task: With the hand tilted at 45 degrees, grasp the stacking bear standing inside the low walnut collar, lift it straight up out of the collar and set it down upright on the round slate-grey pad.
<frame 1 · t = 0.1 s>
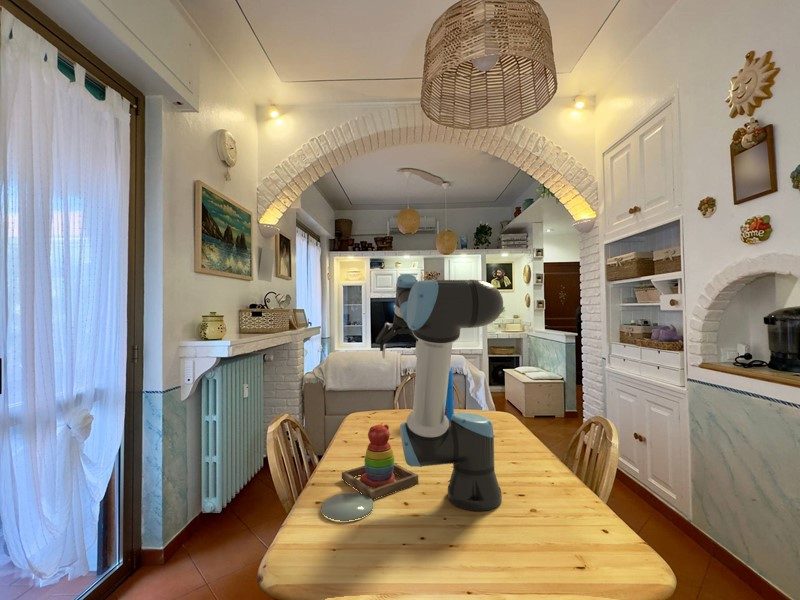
hand: (399, 355, 155), 36 cm above the table, tool tilted 35°, fingers open, 13 cm apart
stacking bear: (379, 482, 121), resting in collar
thermos: (442, 422, 184), on the table
collar: (379, 481, 121), on the table
pad: (347, 508, 105), on the table
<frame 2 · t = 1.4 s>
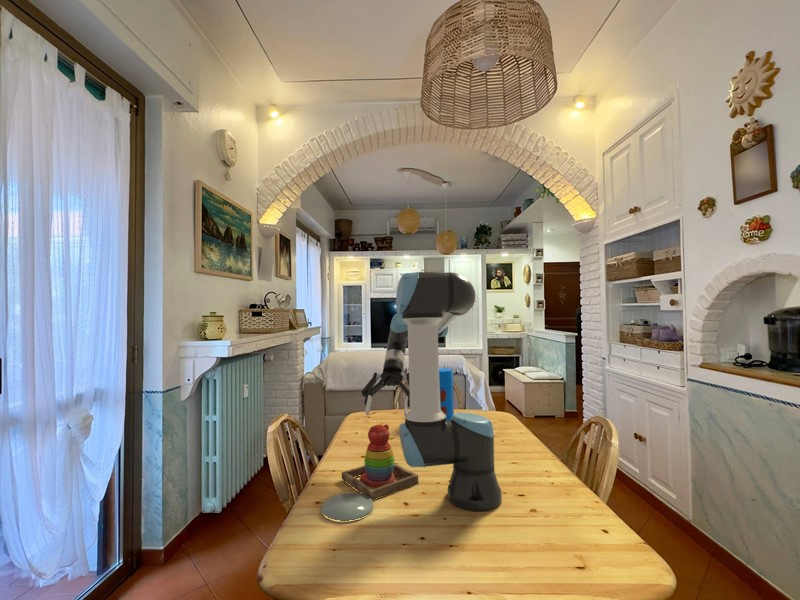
hand: (386, 414, 132), 18 cm above the table, tool tilted 45°, fingers open, 13 cm apart
nothing on the table moved.
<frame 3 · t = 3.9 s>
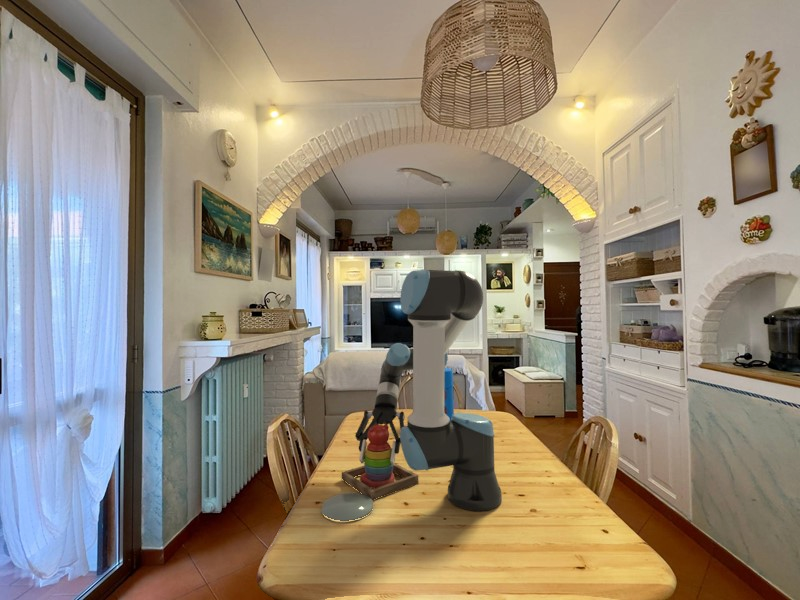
hand: (376, 462, 118), 7 cm above the table, tool tilted 45°, fingers closed on stacking bear, 9 cm apart
stacking bear: (379, 482, 121), resting in collar, touching gripper
everything else where it was.
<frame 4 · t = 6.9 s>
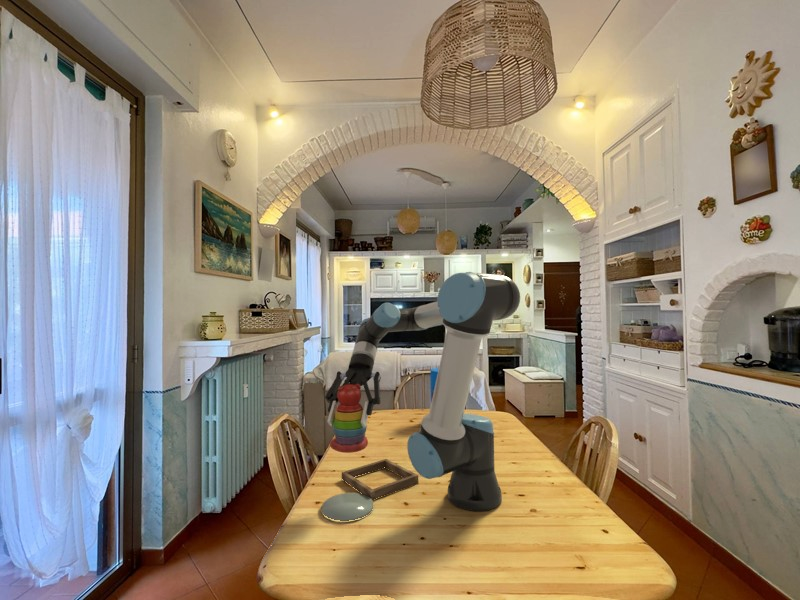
hand: (346, 424, 106), 23 cm above the table, tool tilted 45°, fingers closed on stacking bear, 9 cm apart
stacking bear: (350, 447, 109), point 15 cm above the table, touching gripper
everything else where it was.
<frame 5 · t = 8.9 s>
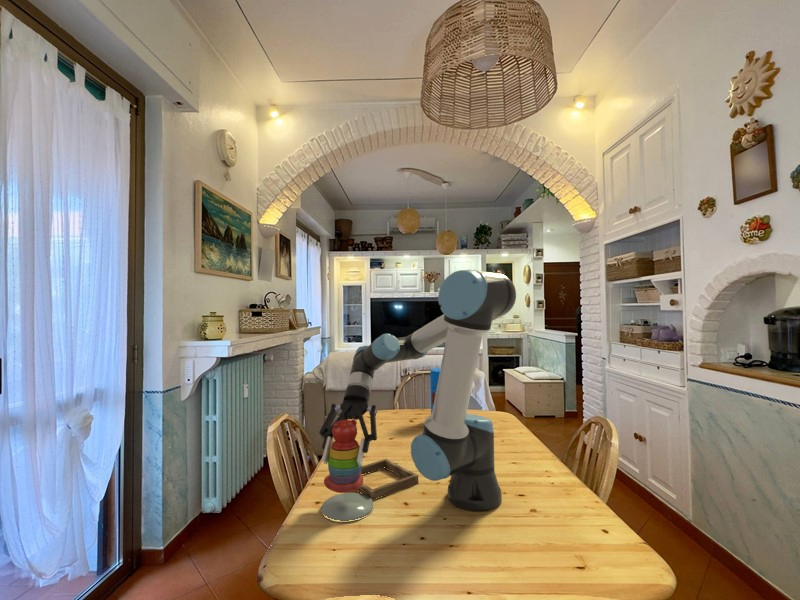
hand: (341, 462, 102), 13 cm above the table, tool tilted 45°, fingers closed on stacking bear, 9 cm apart
stacking bear: (345, 485, 105), point 6 cm above the table, touching gripper
everything else where it was.
when the fingers open (10 cm above the table, at t = 10.2 s): stacking bear drops 1 cm, resting on pad.
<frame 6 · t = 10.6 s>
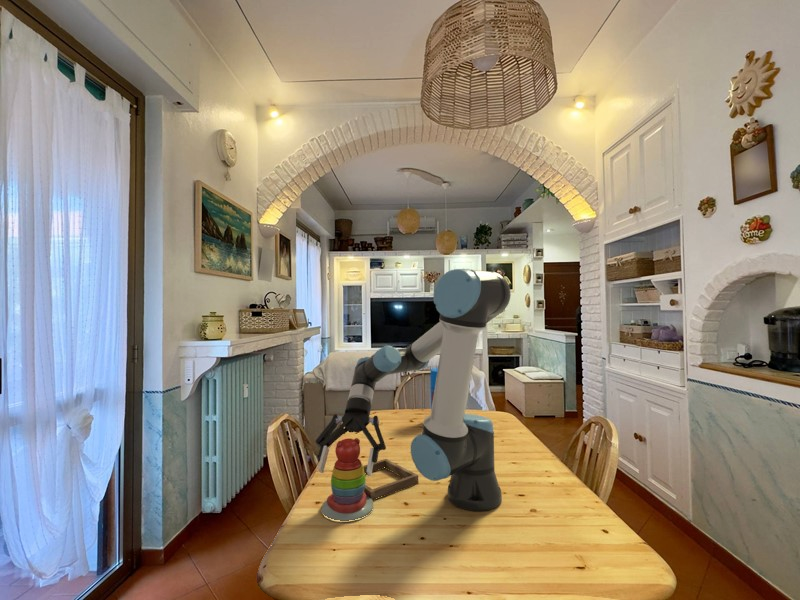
hand: (344, 472, 103), 11 cm above the table, tool tilted 45°, fingers open, 13 cm apart
stacking bear: (348, 505, 105), point 1 cm above the table, touching pad
everything else where it was.
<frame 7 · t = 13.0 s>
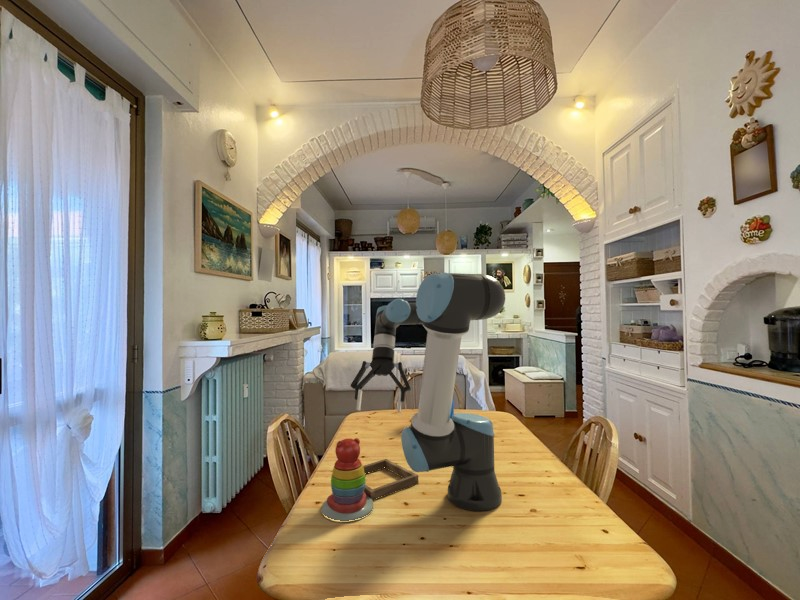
hand: (378, 411, 126), 21 cm above the table, tool tilted 25°, fingers open, 13 cm apart
nothing on the table moved.
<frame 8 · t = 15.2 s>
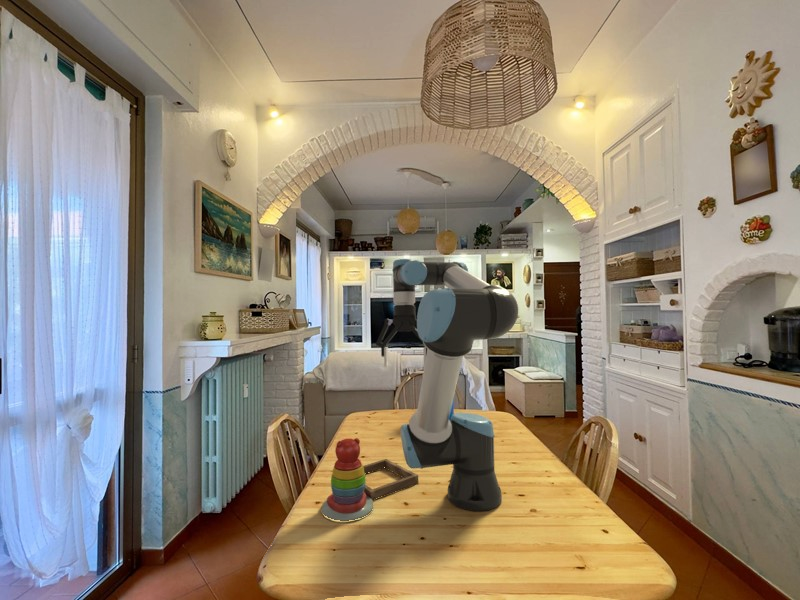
hand: (405, 366, 131), 35 cm above the table, tool pointing down, fingers open, 13 cm apart
nothing on the table moved.
at the end: stacking bear inside the target area on the pad (0.2 cm from its centre), point 0.8 cm above the pad's base; stacking bear tilted 0°; the gripper is holding nothing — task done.
